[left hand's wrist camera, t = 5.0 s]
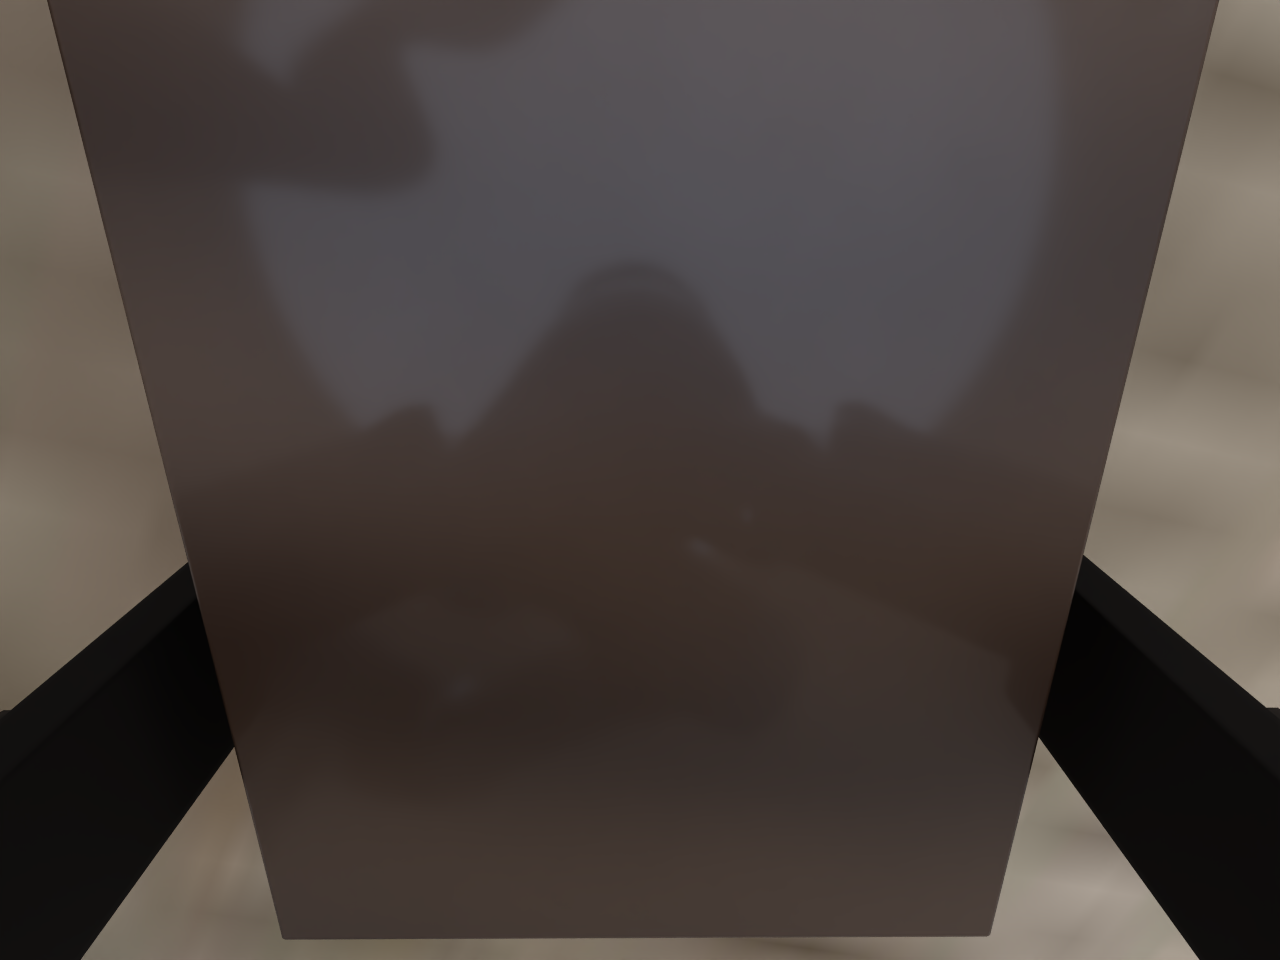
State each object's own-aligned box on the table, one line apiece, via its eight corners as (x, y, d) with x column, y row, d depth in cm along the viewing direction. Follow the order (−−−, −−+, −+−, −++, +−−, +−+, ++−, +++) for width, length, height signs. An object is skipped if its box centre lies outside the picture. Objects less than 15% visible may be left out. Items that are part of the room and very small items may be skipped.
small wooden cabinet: (368, -359, 14) (-488, -2111, 3) (900, -357, 14) (1734, -2078, 3) (460, 562, 22) (281, 941, 11) (812, 561, 22) (991, 938, 11)
